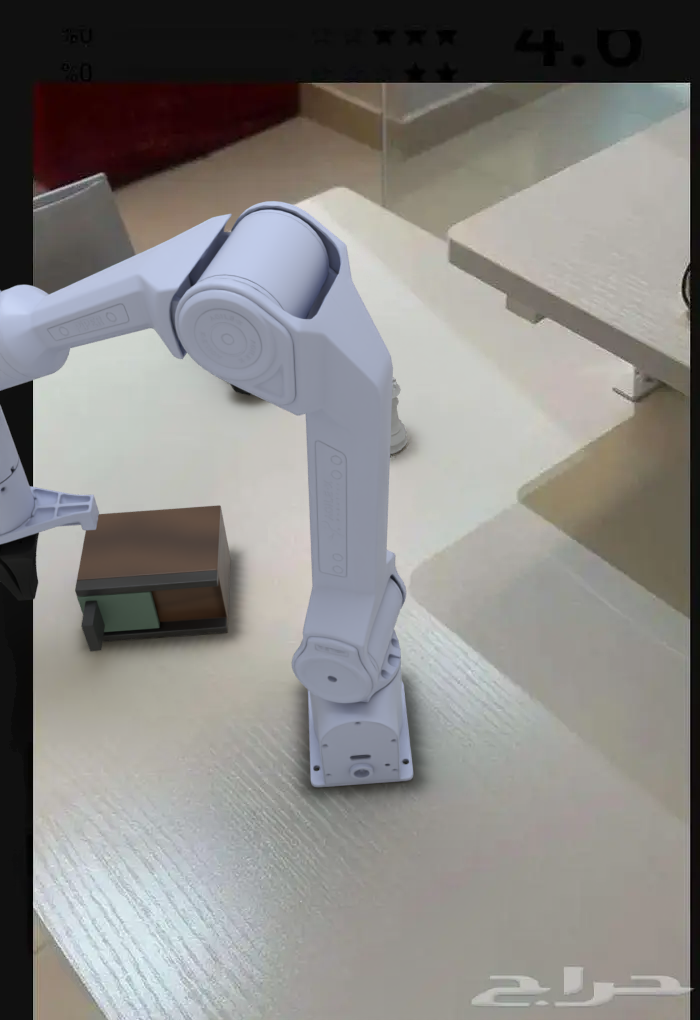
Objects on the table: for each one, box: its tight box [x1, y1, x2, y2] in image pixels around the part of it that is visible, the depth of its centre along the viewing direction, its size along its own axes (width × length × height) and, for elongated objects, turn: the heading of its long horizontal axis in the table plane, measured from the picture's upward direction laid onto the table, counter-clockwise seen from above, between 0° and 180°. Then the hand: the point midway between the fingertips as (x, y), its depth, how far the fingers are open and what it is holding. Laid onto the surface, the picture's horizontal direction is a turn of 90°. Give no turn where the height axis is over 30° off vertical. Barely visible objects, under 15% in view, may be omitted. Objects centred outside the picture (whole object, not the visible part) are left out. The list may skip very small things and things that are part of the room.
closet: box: [74, 504, 232, 643], centre depth 95 cm, size 9×12×7 cm
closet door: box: [76, 591, 160, 652], centre depth 91 cm, size 3×6×5 cm, turn 93°
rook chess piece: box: [390, 376, 408, 455], centre depth 108 cm, size 4×4×8 cm
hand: (28, 590), depth 86 cm, fingers closed
